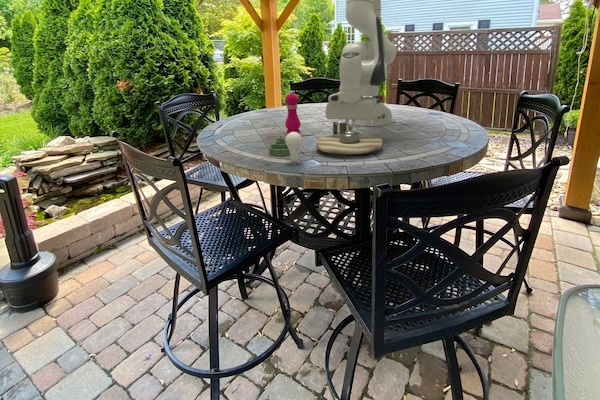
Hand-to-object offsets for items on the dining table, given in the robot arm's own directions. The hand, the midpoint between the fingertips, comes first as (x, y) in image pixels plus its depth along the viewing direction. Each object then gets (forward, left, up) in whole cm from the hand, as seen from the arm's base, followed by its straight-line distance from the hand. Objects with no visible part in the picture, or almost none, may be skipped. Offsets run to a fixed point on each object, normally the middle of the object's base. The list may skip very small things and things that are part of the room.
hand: (350, 130), depth 154 cm
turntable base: (+6, +8, -6) cm, 11 cm away
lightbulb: (+31, +12, -6) cm, 33 cm away
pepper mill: (+14, -30, -6) cm, 33 cm away
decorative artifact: (+30, -2, -6) cm, 31 cm away
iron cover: (+5, +8, -2) cm, 10 cm away
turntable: (+6, +8, -4) cm, 11 cm away
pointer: (+3, -8, -6) cm, 10 cm away
